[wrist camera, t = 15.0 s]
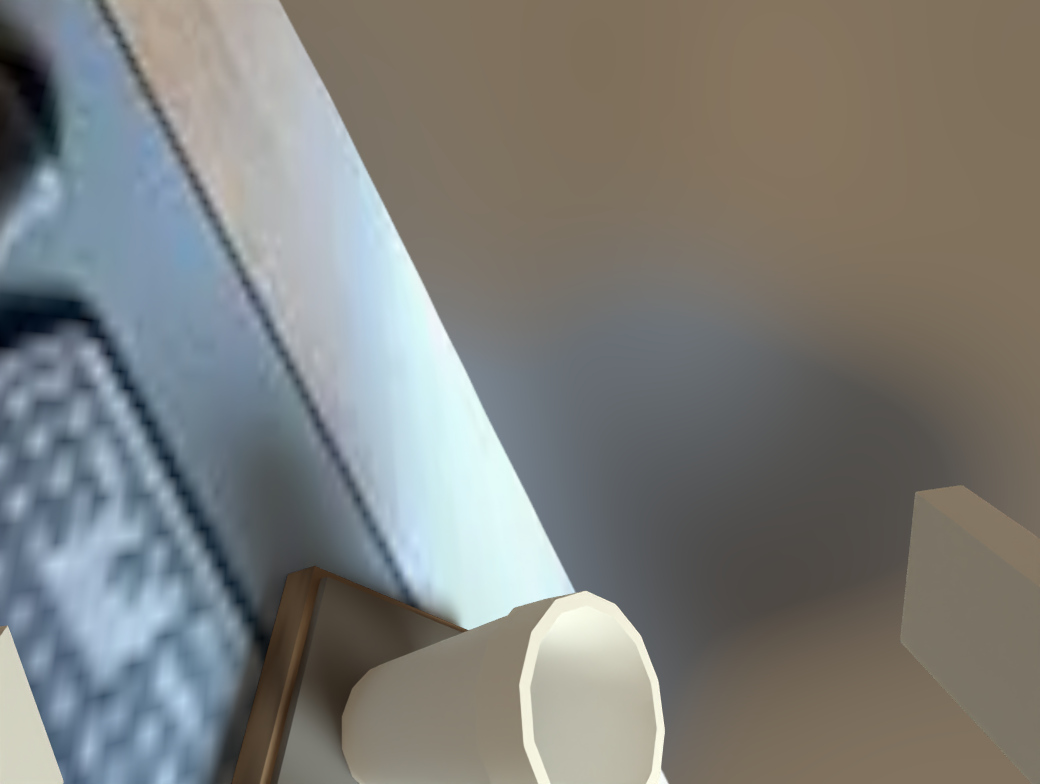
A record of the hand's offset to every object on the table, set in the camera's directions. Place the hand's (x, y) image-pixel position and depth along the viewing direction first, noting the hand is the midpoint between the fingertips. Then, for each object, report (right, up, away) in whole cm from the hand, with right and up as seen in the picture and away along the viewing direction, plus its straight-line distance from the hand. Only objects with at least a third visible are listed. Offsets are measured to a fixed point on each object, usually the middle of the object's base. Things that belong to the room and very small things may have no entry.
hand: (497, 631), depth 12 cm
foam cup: (-6, -13, +29) cm, 33 cm away
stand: (-8, -14, +31) cm, 35 cm away
